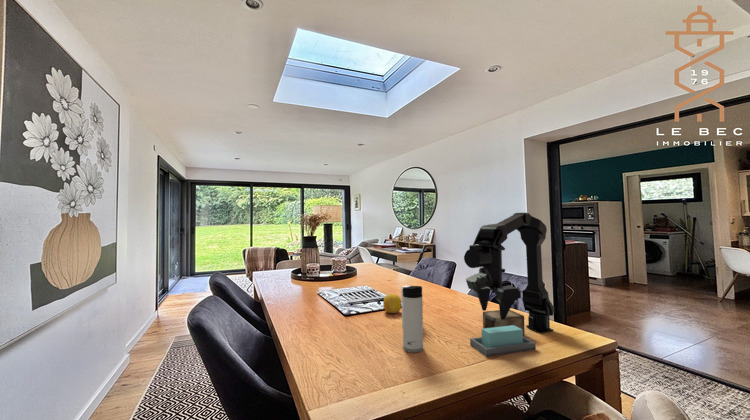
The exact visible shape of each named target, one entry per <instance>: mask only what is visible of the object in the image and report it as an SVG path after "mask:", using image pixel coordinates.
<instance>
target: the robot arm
mask: <svg viewBox="0 0 750 420" xmlns="http://www.w3.org/2000/svg"><path fill="white" fill-rule="evenodd" d="M515 231H518V232H519V234H520V239H521V241H522V242H523V244H524V245H525V251H526V252H525V254H526V256H525V257H526V274H527V275H526V277H527V285H526V286H525V289H523V290H522V291H521V290H520V289H519V288H518V287H515V286H511V285H506V281H503V273H506V269H505V268H503V253H502V252H503V251H505V250H506V247H505V246H503V245H502V244H503V243H504V242H506V240H507V239H508V236H509V234H511V233H512V232H515ZM547 232H548V230H547V225H546V224H545V223H544V222H543V221H542V220H541V219H539V218H537V217H535V216H533V215H531V214H530V213H529V212H515V213H513V214H512V215H510V216H509V217H507V218H505V219H503V220H501V221H499V222H497V223H494V224H492V223H491V224H484V225H481V227H479V229H478V232H477V235H476V236H475V239H474V241H473V243H472V244H470V245H469V249H467V250H466V251H465V253H464V256H463V260H464V263H465V265H467V267H468V268H471V269H477V268H479V269H478V273H475V274H473V275H471V276H469V277H466V278H465V282H466V284H467V287H468V290H473V292H475V294H476V295H477V297H478V300H479V303H480V307H481V310H482V312H486V311H487V308H488V304H489V299H490V295H491V294H490V293H491V291H493V292H494V293H495V298H494V299H496V301H497V302H498V305H499V306H498V307H499V308H498V310H500V317H501V319H502V320H504V319H505V318H506V316H507V314H508V312H509V310H511V309H512V306H513V305H514V303H515V301H518V300H519V299H521V298H522V304H523V309H524V311H527V312H528V317H527V318H528V319H527V320H528V322H527V323H528V324H526V325H525V327H526V328H529V329H530V330H532V331H534V332H536V333H540V334H541V333H548V332H554V329H553V328H551V327H550V316H552V317H553V316H554V314H555V309H556V308H555V306H554V305H553V303H552V302H551V300H550V295H549V292H548V291H547V289H546V288H545V286H544V283H543V282H544V281H543V280H544V279H543V264H542V263H543V262H542V261H543V260H542V245H543V243H544V241H545V240H546V236H547V235H546V234H547Z"/></svg>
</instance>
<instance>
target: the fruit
mask: <svg viewBox="0 0 750 420" xmlns="http://www.w3.org/2000/svg"><path fill="white" fill-rule="evenodd" d="M382 304H383V308H384V310H385V312H387V313H389V314H396V313H399V312H400V311H401V310H402V298H401V297H400V296H399V295H398V294H396V293H389V294H386V295H385V297H383V303H382Z"/></svg>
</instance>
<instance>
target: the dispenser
mask: <svg viewBox="0 0 750 420" xmlns="http://www.w3.org/2000/svg"><path fill="white" fill-rule="evenodd" d="M511 325H514V326H516V327H518V328H520V329H522V331H523V337H526V336H525V334H526V333H525V332H526V331H525V315H523V314H521V313H519V312H517V311H514V310H511V309H510V310H509V312H508V314H507V316H506V318H505V319H504V320H502V319H501V317H500V309H498V310H497V309H496V310H489V311H487V310H486V311H482V329H485V328H493V327H502V326H511Z"/></svg>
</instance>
